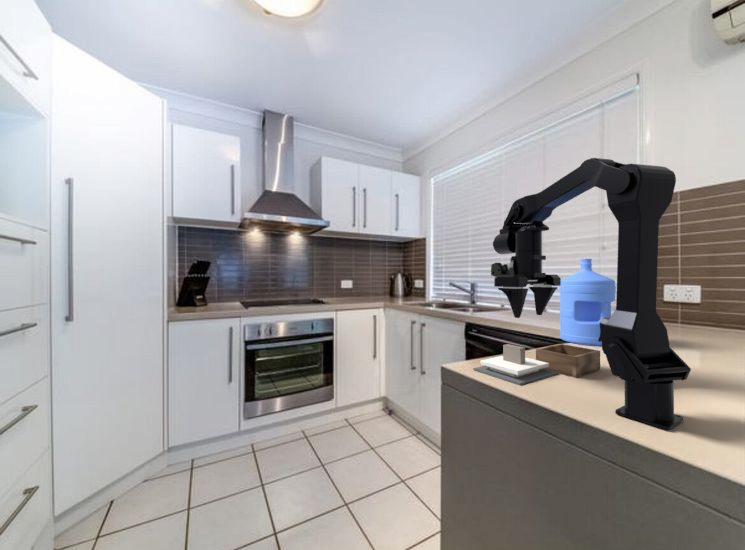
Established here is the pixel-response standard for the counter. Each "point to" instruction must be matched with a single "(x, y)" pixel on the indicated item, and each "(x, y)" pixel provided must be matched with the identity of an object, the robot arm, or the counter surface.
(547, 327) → the counter surface
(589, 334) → the water jug
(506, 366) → the lid
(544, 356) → the box
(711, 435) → the counter surface
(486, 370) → the mat
